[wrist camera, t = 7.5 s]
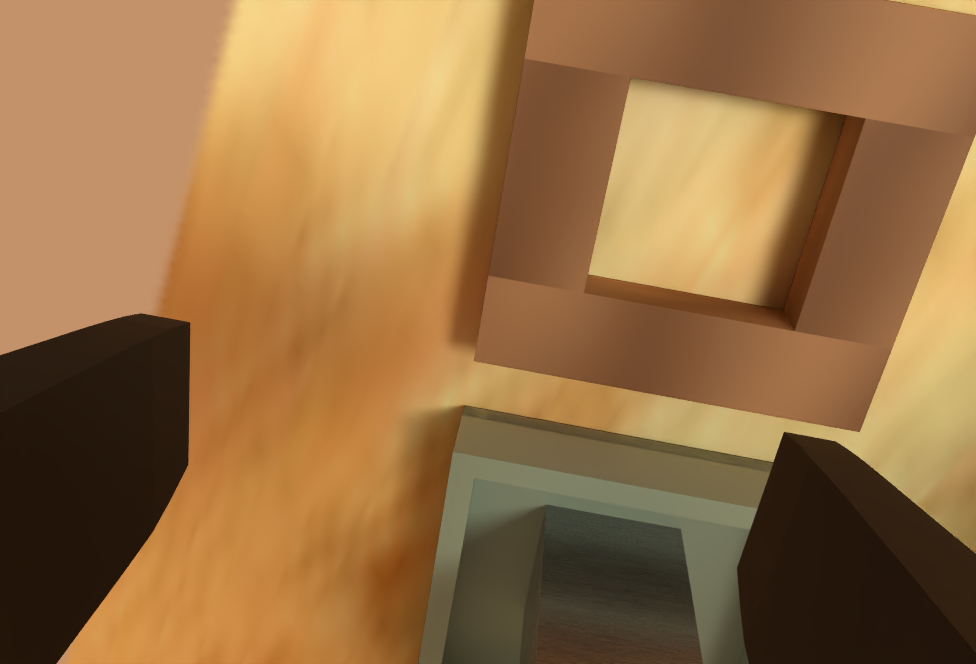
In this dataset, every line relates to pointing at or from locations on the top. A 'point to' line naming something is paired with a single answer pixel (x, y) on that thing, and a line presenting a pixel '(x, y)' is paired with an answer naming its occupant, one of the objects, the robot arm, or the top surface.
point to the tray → (585, 487)
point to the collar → (834, 230)
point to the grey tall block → (608, 593)
